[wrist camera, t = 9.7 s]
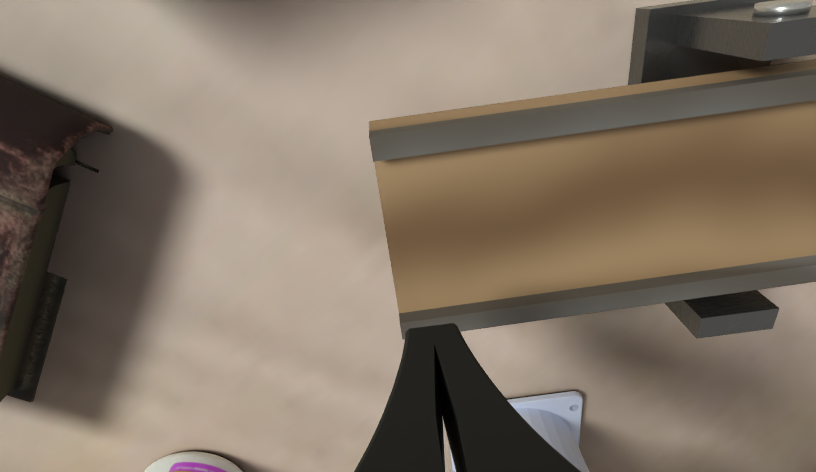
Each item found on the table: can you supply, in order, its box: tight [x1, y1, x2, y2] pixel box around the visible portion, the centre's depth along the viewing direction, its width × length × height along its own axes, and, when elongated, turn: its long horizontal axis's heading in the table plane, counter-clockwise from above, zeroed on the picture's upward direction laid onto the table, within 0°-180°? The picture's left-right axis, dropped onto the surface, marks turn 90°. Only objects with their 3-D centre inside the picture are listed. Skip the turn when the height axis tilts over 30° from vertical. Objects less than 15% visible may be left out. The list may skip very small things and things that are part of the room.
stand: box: [628, 0, 816, 338], centre depth 18 cm, size 12×5×6 cm, turn 7°
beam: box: [369, 59, 816, 339], centre depth 16 cm, size 8×26×2 cm, turn 97°
